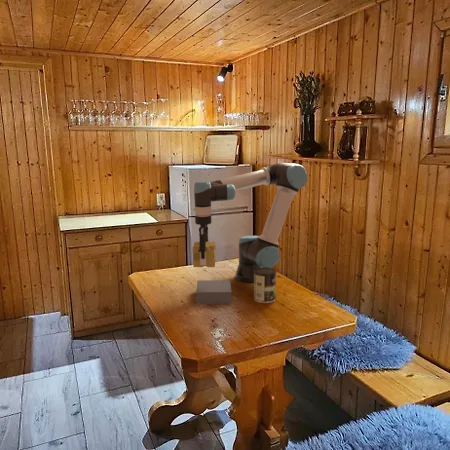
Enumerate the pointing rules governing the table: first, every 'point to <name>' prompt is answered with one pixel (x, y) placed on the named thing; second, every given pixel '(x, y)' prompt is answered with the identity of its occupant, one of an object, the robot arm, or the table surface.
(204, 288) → the charcoal block
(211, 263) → the cheese
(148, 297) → the table surface
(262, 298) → the coffee can
